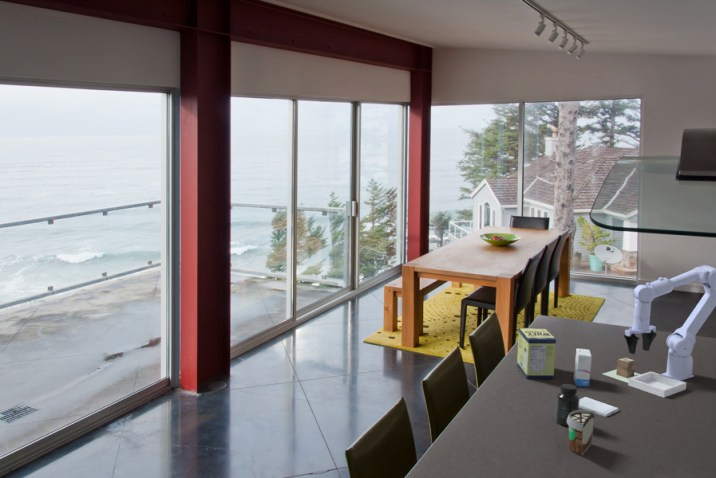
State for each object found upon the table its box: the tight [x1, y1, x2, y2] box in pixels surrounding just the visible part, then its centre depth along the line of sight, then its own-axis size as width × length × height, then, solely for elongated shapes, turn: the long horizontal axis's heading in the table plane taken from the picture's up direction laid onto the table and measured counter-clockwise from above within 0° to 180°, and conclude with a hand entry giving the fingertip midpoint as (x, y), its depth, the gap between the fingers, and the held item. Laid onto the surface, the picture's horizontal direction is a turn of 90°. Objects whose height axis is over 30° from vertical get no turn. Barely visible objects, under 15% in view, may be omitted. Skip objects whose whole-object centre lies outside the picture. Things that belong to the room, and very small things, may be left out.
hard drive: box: [579, 396, 620, 418], centre depth 238 cm, size 2×8×12 cm
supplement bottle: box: [555, 383, 580, 427], centre depth 225 cm, size 7×7×12 cm
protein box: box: [516, 327, 557, 380], centre depth 271 cm, size 10×16×16 cm
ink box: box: [573, 347, 592, 388], centre depth 261 cm, size 9×5×12 cm, turn 168°
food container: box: [567, 409, 596, 456], centre depth 208 cm, size 12×6×10 cm, turn 145°
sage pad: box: [602, 368, 642, 384], centre depth 269 cm, size 12×11×1 cm
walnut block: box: [616, 357, 636, 378], centre depth 268 cm, size 4×4×6 cm
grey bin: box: [627, 371, 687, 398], centre depth 257 cm, size 14×14×3 cm
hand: (638, 351), depth 268 cm, fingers open, 7 cm apart
